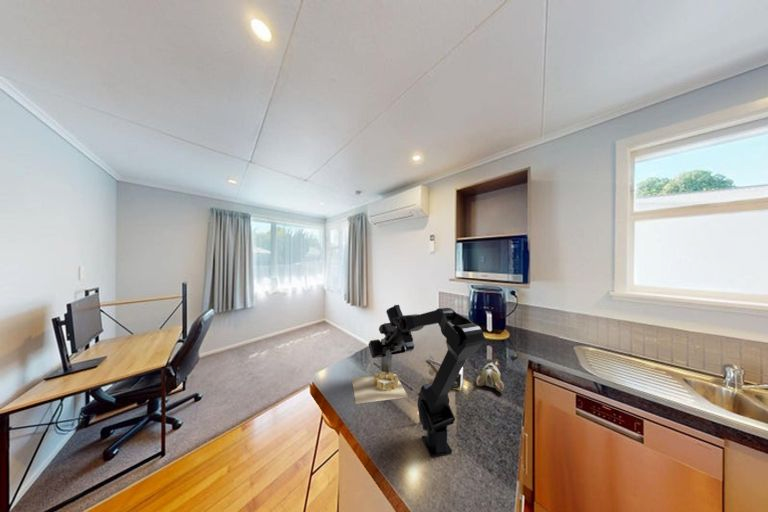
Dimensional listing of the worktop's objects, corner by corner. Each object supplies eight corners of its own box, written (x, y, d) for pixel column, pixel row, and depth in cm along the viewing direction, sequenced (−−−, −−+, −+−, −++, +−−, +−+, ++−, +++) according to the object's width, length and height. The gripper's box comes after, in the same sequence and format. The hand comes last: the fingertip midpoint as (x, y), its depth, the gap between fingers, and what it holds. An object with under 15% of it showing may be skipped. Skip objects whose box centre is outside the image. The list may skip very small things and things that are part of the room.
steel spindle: (391, 372, 85) (392, 342, 86) (379, 371, 86) (380, 342, 86) (392, 366, 90) (392, 338, 91) (380, 365, 91) (381, 337, 91)
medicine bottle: (442, 385, 90) (443, 357, 90) (446, 378, 96) (447, 351, 96) (460, 391, 86) (461, 361, 87) (462, 382, 93) (463, 355, 93)
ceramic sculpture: (504, 361, 96) (503, 378, 83) (505, 380, 96) (504, 400, 83) (479, 355, 101) (474, 370, 88) (479, 373, 101) (475, 391, 88)
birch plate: (408, 400, 80) (408, 397, 80) (355, 407, 75) (355, 403, 75) (395, 376, 96) (395, 374, 96) (351, 381, 92) (351, 378, 92)
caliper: (453, 379, 94) (454, 364, 95) (451, 379, 94) (452, 364, 95) (428, 360, 114) (429, 348, 114) (426, 360, 113) (427, 348, 114)
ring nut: (400, 389, 84) (400, 383, 84) (376, 392, 82) (376, 386, 82) (393, 376, 94) (393, 370, 94) (371, 378, 92) (371, 372, 92)
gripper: (410, 316, 90) (397, 334, 99) (371, 320, 81) (359, 340, 91) (421, 340, 82) (405, 358, 92) (379, 348, 74) (366, 366, 83)
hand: (384, 354), depth 90 cm, fingers closed on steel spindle, 5 cm apart
